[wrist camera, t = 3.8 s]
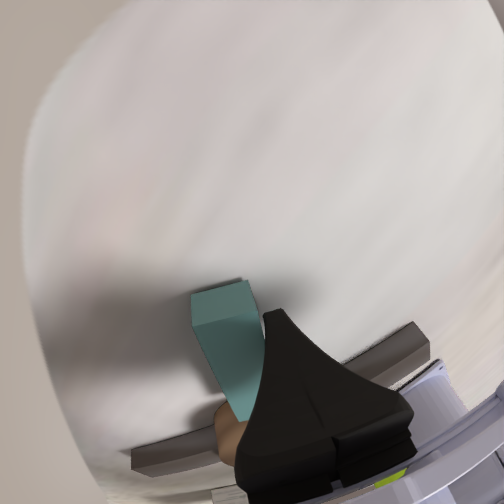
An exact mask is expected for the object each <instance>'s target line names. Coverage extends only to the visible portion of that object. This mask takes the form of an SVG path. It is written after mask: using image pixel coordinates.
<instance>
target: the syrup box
mask: <svg viewBox="0 0 504 504" xmlns="http://www.w3.org/2000/svg"><path fill="white" fill-rule="evenodd" d="M211 494H212V501H213V504H249V502H248V497H247V493H246V492H244V491H243V490H242V489H240V488H239V487H238V486H237V485H233V486H228V487H224V488H219V489H214V490H211Z"/></svg>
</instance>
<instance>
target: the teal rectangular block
mask: <svg viewBox="0 0 504 504" xmlns="http://www.w3.org/2000/svg"><path fill="white" fill-rule="evenodd" d="M191 318H192V328H193V330H194V332H195V335H196V337H197V339H198V341H199V343H200V346H201V348H202V350H203V352H204V354H205V356H206V358H207V360H208V362H209V365H210V367H211V369H212V371H213V373H214V375H215V377H216V379H217V381H218V383H219V385H220V387H221V389H222V391H223V393H224V395H225V397H226V398H227V400H228V402H229V404H230V406H231V408H232V410H233V412H234V414H235V416H236V417H237V419H238V421H239V422H242V421H246V420H249V418H250V415H251V413H252V410H253V407H254V404H255V401H256V397H257V393H258V389H259V385H260V380H261V375H262V369H263V362H264V353H265V339H264V335H263V331H262V327H261V323H260V319H259V315H258V311H257V307H256V304H255V301H254V298H253V295H252V291H251V288H250V285H249V282H248V280H245V281H242V282H238V283H234V284H230V285H226V286H223V287H219V288H215V289H211V290H207V291H203V292H199V293H195V294H191Z"/></svg>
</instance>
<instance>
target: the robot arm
mask: <svg viewBox="0 0 504 504" xmlns="http://www.w3.org/2000/svg"><path fill="white" fill-rule="evenodd" d="M263 320H264V325H265V353H264V362H263V369H262V375H261V380H260V385H259V389H258V393H257V397H256V401H255V404H254V407H253V410H252V413H251V415H250V418H249V421H248V423H247V426H246V428H245V431H244V433H243V435H242V437H241V439H240V441H239V443H238V445H237V449H236V455H235V463H234V472H235V478H236V483H237V486H238V487H239V488H240V489H242V490H243V491H244V492H246V493H247V497H248V502H249V504H321V503H324V502H327V501H330V500H333V499H336V498H339V497H341V496H344V495H347V494H350V493H352V492H355V491H357V490H360V489H362V488H365V487H367V486H370V485H372V484H374V483H376V482H379V481H381V480H383V479H385V478H387V477H390V476H392V475H394V474H396V473H398V472H400V471H402V470H404V469H406V468H407V467H409V468H408V469H406V470H405V473H404V474H403V476H401V477H400V478H399V479H397V480H395V481H393V482H391V483H389V484H386V485H384V486H382V487H379V488H377V489H375V490H372V491H370V492H367V493H365V494H362V495H360V496H357V497H355V498H352V499H349V500H347V501H344V502H341V503H339V504H504V380H503V381H502V382H501V383H500V385H499V386H498V387H497V389H496V391H495V392H494V393H493V394H492V395H491V396H489V397H488V398H487V399H485V400H484V401H483V402H481V403H480V404H479V405H477V406H476V407H475V408H473V409H472V410H471V411H468V409H467V408H466V406H465V405H464V403H463V402H462V400H461V399H460V398H459V396H458V395H457V393H456V392H455V390H454V389H453V388H452V386H451V383H450V380H449V376H448V373H447V369H446V366H445V363H444V361H443V360H439V361H438V362H436V363H435V364H434V365H433V366H432V367H430V368H429V369H428V370H427V371H425V372H424V373H423V374H422V375H420V376H419V377H418V378H416V379H415V380H414V381H413V382H411V383H410V384H409V385H407V386H406V387H404V388H403V389H402V390H400V391H399V392H396V391H393V390H391V389H388V388H386V387H383V386H381V385H378V384H376V383H374V382H372V381H370V380H368V379H366V378H364V377H362V376H360V375H358V374H357V373H355V372H353V371H351V370H349V369H348V368H346V367H345V366H343V365H342V364H340V363H339V362H337V361H336V360H334V359H333V358H331V357H330V356H329V355H327V354H326V353H325V352H324V351H322V350H321V349H320V348H319V347H318V346H317V345H315V344H314V343H313V342H312V341H311V340H310V339H309V338H308V337H307V336H306V335H305V334H304V333H303V332H302V331H301V330H300V329H299V328H298V327H297V326H296V325H295V324H294V323H293V321H292V320H291V319H290V318H289V317H288V315H287V314H286V312H285V311H284V310H283V309H281V308H280V309H276V310H273V311H270V312H266V313H264V314H263Z"/></svg>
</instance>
